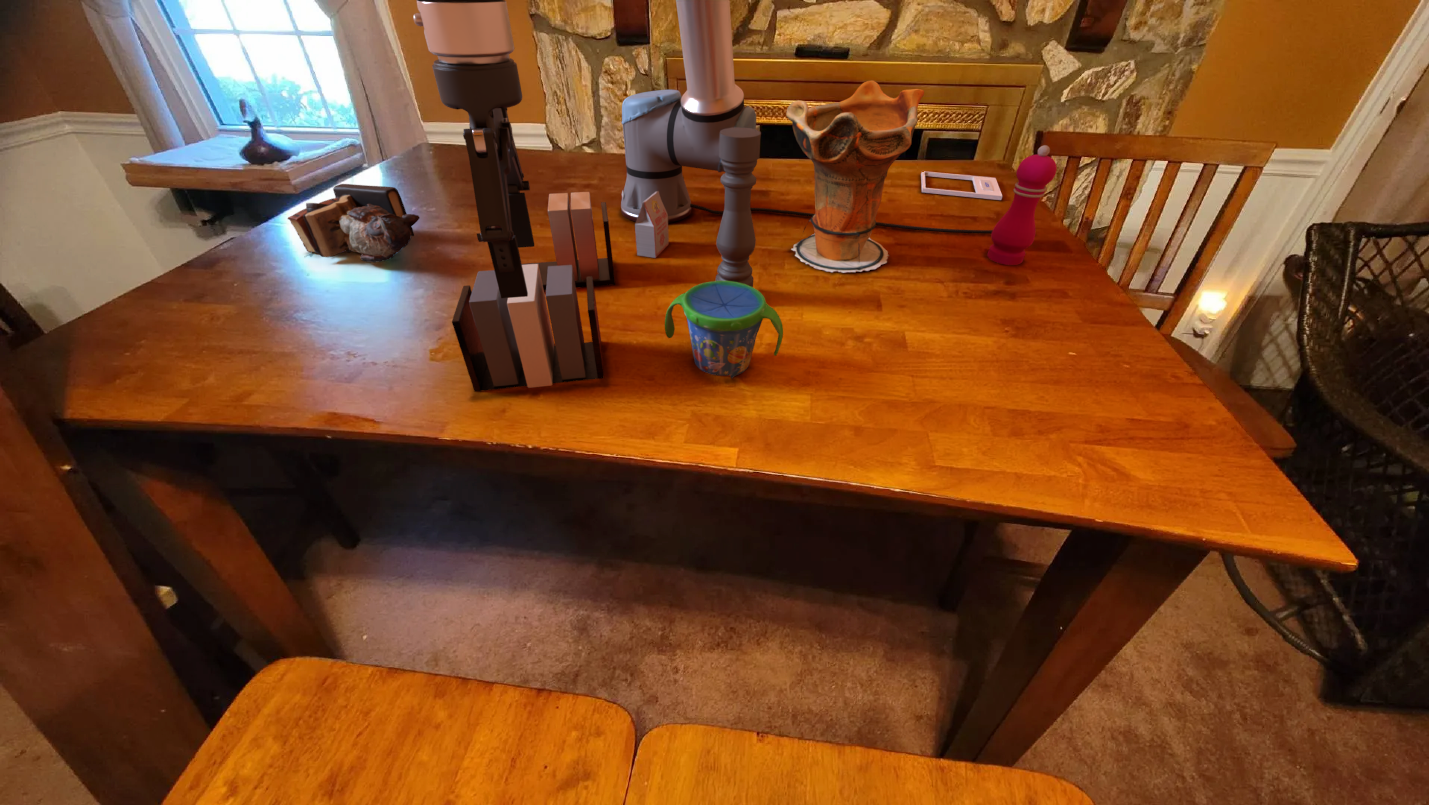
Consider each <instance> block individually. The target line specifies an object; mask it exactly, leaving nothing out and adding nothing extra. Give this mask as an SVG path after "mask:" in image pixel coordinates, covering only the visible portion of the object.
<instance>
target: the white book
mask: <svg viewBox="0 0 1429 805" xmlns="http://www.w3.org/2000/svg"><path fill="white" fill-rule="evenodd" d="M522 268H523V273H524V277H525V282H526V287H527V292H528V296H527V297H513V298H508V301H507V306H508V310H509V314H510V318H511V322H512V326H513V330H514V334H515V338H516V342H517V346H518V350H519V354H520V358H521V362H522V366H523V370H524V374H525V378H526V382H527V386H526V387H527V388H528V389H530V388H541V387H550V386H553V384H552V380H553V358H554V345H555V341H554V336H553V331H552V326H551V321H550V316H549V311H548V305H547V300H546V293H545V290H544V289H543V284H542V279H541V274H540V269H539V264H528V265H522Z"/></svg>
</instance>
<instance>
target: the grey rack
mask: <svg viewBox="0 0 1429 805" xmlns="http://www.w3.org/2000/svg"><path fill="white" fill-rule="evenodd" d="M586 281H587V287H586V300H587V301H586V302H587V314H588V319H589V320H588V321H589V327H590V335H591V341H588V342H584V343H585V367H586V377H585V378H575V379H565V380H562V376H561V371H560V366H559V361H558V356H557V351H556V346H555V344H554V358H553V380H552V385H553V384H561V383H572V382H582V381H590V380H602V379H605V373H604V360H603V359H604V358H603V357H604V356H603V346H602V344H603V343H602V336H601V330H600V322H599V315H598V314H599V313H598V307H597V300H596V291H595V286H594V284H593V277H592V276H589V277H586ZM472 291H473V290H472V288H471V285H463V286H462V290H461V292H460V295H459V298H458V301H457V305H456V308H455V310H454V312H453V313H454V314H453V317H452V320H451V324H452V327H453V330H454V333H455V336H456V339H457V342H458V345H459V348H460V351H461V354H462V357H463V361H464V363H465V367H466V370H467V373H468V376H469V379H470V382H471V385H472V388H473V392H475V393H476V392H484V391H494V390H503V389H513V388H514V389H515V388H523V387H528V386H527V382H526V378H525V374H524V370H523V366H522V362H521V368H520V376H519V384H516V385H506V386H496V387H494V385H493V382H492V378H491V375H490V372H489V368H488V365H487V361H486V358H485V355H484V351H483V348H482V345H481V341H480V338H479V334H478V331H477V328H476V324H475V321H474V318H473V314H472V311H471V307H470V304H469V301H470V297H471V294H472Z"/></svg>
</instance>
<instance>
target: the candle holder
mask: <svg viewBox="0 0 1429 805" xmlns="http://www.w3.org/2000/svg"><path fill="white" fill-rule="evenodd" d="M761 135H762V132H761V130H757V129H756V130H755V129H751V128H739V127H737V128H727V129H723V130H721V131H720V141H719V157H720V158H721V164H722V165H723V167H724V170H725V172H724V173H722V175H721V176H720V184H722V186H723V188H724V208H723V211H724V212H723V215H722V216H721V220H720V224H719V228H718V233H717V237H716V242H715V246H716V249H717V250H718V253H719V254H720V257H721V260H722V261H721V262H720V264H719V265H718V266H717V269H716V270H717V271H716V272H717V274H716V276H715V281H732V282H738V283H743V284H746V285H749V286H751V287H753V288H754V278H755V277H754V276H753V270H754V269H753V267H752V266H751V264H750V263H749V261H750V257H751V255H752V254H753V252H754V251H755V248H756V245H757V244H756V243H757V242H756V241H757V238H756V233H755V227H754V222H753V217H752V211H751V209H750V208H751V203H752V202H751V201H752V200H751V199H752V189H753V187H754V186H755V185H756V183H757V177H756V176H755V175H754V174H753V172H754V170H755V168H756V166H757V165H758V160H759V159H760V154H761V153H760V152H761Z"/></svg>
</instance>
